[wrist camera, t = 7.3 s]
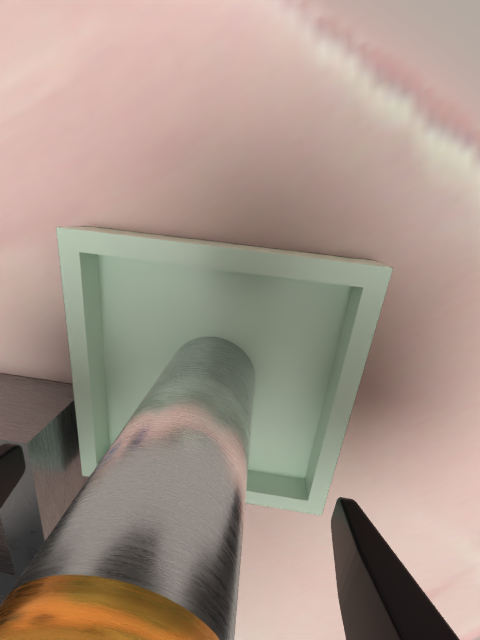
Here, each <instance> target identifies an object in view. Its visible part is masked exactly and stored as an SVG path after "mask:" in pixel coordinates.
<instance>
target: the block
mask: <svg viewBox="0 0 480 640" xmlns="http://www.w3.org/2000/svg"><path fill="white" fill-rule="evenodd" d="M5 443H11V444H17V445H20V446H21V447H22V449H23V453H24V459H25V464H26V469H25V472H24V474H23V476H22V478H21V479H20V481H19V482H18V484H17V485H16V487H15V488H14V490H13V491H12V493H11V494H10V496H9V497H8V499H7V500H6V502H5V503H4V505H3V506H2V508H1V509H0V605H1V604H2V602H3V601H4V599H5V598H6V597H7V595H8V594H9V592H10V591H11V589H12V588H13V586H14V585H15V584H16V582H17V581H18V579H19V578H20V576H21V575H22V573H23V572H24V571H25V569H26V568H27V566H28V565H29V563H30V562H31V561H32V559H33V558H34V556H35V555H36V553H37V552H38V550H39V549H40V548H41V546H42V545H43V543H44V542H45V540H46V539H47V537H48V536H49V535H50V533H51V532H52V530H53V529H54V527H55V526H56V524H57V523H58V522H59V520H60V519H61V517H62V516H63V514H64V513H65V511H66V510H67V509H68V507H69V506H70V504H71V503H72V501H73V500H74V499H75V497H76V496H77V494H78V493H79V491H80V490H81V488H82V487H83V486H84V484H85V483H86V481H87V480H88V478H89V477H88V476H82V468H81V458H80V449H79V439H78V430H77V420H76V411H75V401H74V392H73V384H67V383H60V382H54V381H47V380H40V379H34V378H27V377H20V376H14V375H7V374H0V445H2V444H5Z"/></svg>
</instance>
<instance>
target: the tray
mask: <svg viewBox="0 0 480 640" xmlns="http://www.w3.org/2000/svg"><path fill="white" fill-rule="evenodd" d="M56 230H57V240H58V249H59V259H60V268H61V278H62V287H63V297H64V306H65V316H66V325H67V335H68V344H69V354H70V363H71V373H72V382H73V392H74V401H75V411H76V420H77V430H78V439H79V449H80V458H81V468H82V476H88V477H90V475H91V474H92V473H93V471H94V470H95V468H96V467H97V465H98V464H99V462H100V461H101V460H102V458H103V457H104V455H105V454H106V452H107V451H108V449H109V448H110V447H111V445H112V444H113V442H114V441H115V439H116V438H117V437H118V435H119V434H120V432H121V431H122V429H123V428H124V426H125V425H126V424H127V422H128V421H129V419H130V418H131V416H132V415H133V413H134V412H135V411H136V409H137V408H138V406H139V405H140V403H141V402H142V400H143V399H144V398H145V396H146V395H147V393H148V392H149V390H150V389H151V387H152V386H153V385H154V383H155V382H156V380H157V379H158V377H159V376H160V375H161V373H162V372H163V370H164V369H165V367H166V366H167V364H168V363H169V362H170V360H171V359H172V357H173V356H174V354H175V353H176V351H177V350H178V349H179V348H180V347H181V346H182V345H184V344H185V343H187V342H188V341H190V340H193V339H196V338H199V337H218V338H222V339H225V340H228V341H230V342H232V343H234V344H236V345H237V346H239V347H240V348H241V349H242V350H243V351H244V352H245V353H246V354H247V355H248V357H249V358H250V360H251V362H252V364H253V367H254V370H255V391H254V403H253V415H252V428H251V440H250V452H249V464H248V477H247V489H246V501H245V503H249V504H255V505H261V506H267V507H273V508H279V509H285V510H291V511H297V512H303V513H309V514H315V515H322V512H323V508H324V505H325V502H326V498H327V495H328V491H329V488H330V484H331V481H332V477H333V474H334V470H335V467H336V464H337V460H338V457H339V453H340V450H341V446H342V443H343V439H344V436H345V432H346V429H347V425H348V422H349V419H350V415H351V412H352V408H353V405H354V401H355V398H356V394H357V391H358V387H359V384H360V381H361V377H362V374H363V370H364V367H365V363H366V360H367V356H368V353H369V349H370V346H371V343H372V339H373V336H374V332H375V329H376V325H377V322H378V318H379V315H380V311H381V308H382V305H383V301H384V298H385V294H386V291H387V287H388V284H389V280H390V277H391V273H392V270H393V268H392V267H390V266H387V265H385V264H382V263H380V262H377V261H374V260H366V259H357V258H349V257H341V256H332V255H324V254H316V253H307V252H299V251H291V250H282V249H274V248H266V247H257V246H249V245H241V244H232V243H224V242H216V241H207V240H199V239H191V238H182V237H174V236H166V235H157V234H149V233H141V232H133V231H124V230H116V229H108V228H99V227H91V226H71V227H56Z"/></svg>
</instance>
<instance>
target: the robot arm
mask: <svg viewBox="0 0 480 640" xmlns="http://www.w3.org/2000/svg"><path fill="white" fill-rule="evenodd" d="M25 469H26V464H25V459H24V453H23V449H22V447H21V446H20V445H17V444H11V443H5V444H2V445H0V509H1V508H2V506H3V505H4V503H5V502H6V500H7V499H8V497H9V496H10V494H11V493H12V491H13V490H14V488H15V487H16V485H17V484H18V482H19V481H20V479H21V478H22V476H23V474H24V472H25ZM331 531H332V541H333V551H334V561H335V570H336V580H337V589H338V598H339V604H340V610H341V615H342V620H343V625H344V630H345V636H346V640H460V639H459V638H458V637H457V635H456V634H455V633H454V631H453V630H452V629H451V627H450V626H449V625H448V623H447V622H446V621H445V620H444V618H443V617H442V616H441V614H440V613H439V612H438V610H437V609H436V608H435V606H434V605H433V604H432V602H431V601H430V600H429V598H428V597H427V596H426V594H425V593H424V592H423V590H422V589H421V588H420V586H419V585H418V584H417V582H416V581H415V580H414V578H413V577H412V576H411V574H410V573H409V572H408V570H407V569H406V568H405V566H404V565H403V564H402V562H401V561H400V560H399V558H398V557H397V556H396V554H395V553H394V552H393V550H392V549H391V548H390V546H389V545H388V544H387V542H386V541H385V540H384V538H383V537H382V536H381V534H380V533H379V532H378V530H377V529H376V528H375V526H374V525H373V524H372V522H371V521H370V520H369V518H368V517H367V516H366V514H365V513H364V512H363V510H362V509H361V508H360V506H359V505H358V504H357V503H356V501H354V500H353V499H348V498H342V497H340V498H338V500H337V502H336V505H335V508H334V512H333V515H332V519H331Z"/></svg>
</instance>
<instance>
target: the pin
mask: <svg viewBox="0 0 480 640" xmlns="http://www.w3.org/2000/svg"><path fill="white" fill-rule="evenodd" d="M254 391H255V370H254V367H253V364H252V362H251V360H250V358H249V357H248V355H247V354H246V353H245V352H244V351H243V350H242V349H241V348H240V347H239V346H237V345H236V344H234V343H232V342H230V341H228V340H225V339H222V338H218V337H199V338H196V339H193V340H190V341H188V342H187V343H185V344H184V345H182V346H181V347H180V348H179V349H178V350H177V351H176V353H175V354H174V356H173V357H172V359H171V360H170V362H169V363H168V364H167V366H166V367H165V369H164V370H163V372H162V373H161V375H160V376H159V377H158V379H157V380H156V382H155V383H154V385H153V386H152V387H151V389H150V390H149V392H148V393H147V395H146V396H145V398H144V399H143V400H142V402H141V403H140V405H139V406H138V408H137V409H136V411H135V412H134V413H133V415H132V416H131V418H130V419H129V421H128V422H127V424H126V425H125V426H124V428H123V429H122V431H121V432H120V434H119V435H118V437H117V438H116V439H115V441H114V442H113V444H112V445H111V447H110V448H109V449H108V451H107V452H106V454H105V455H104V457H103V458H102V460H101V461H100V462H99V464H98V465H97V467H96V468H95V470H94V471H93V473H92V474H91V475H90V477H89V478H88V480H87V481H86V483H85V484H84V486H83V487H82V488H81V490H80V491H79V493H78V494H77V496H76V497H75V499H74V500H73V501H72V503H71V504H70V506H69V507H68V509H67V510H66V511H65V513H64V514H63V516H62V517H61V519H60V520H59V522H58V523H57V524H56V526H55V527H54V529H53V530H52V532H51V533H50V535H49V536H48V537H47V539H46V540H45V542H44V543H43V545H42V546H41V548H40V549H39V550H38V552H37V553H36V555H35V556H34V558H33V559H32V561H31V562H30V563H29V565H28V566H27V568H26V569H25V571H24V572H23V573H22V575H21V576H20V578H19V579H18V581H17V582H16V584H15V585H14V586H13V588H12V589H11V591H10V592H9V594H8V595H7V597H6V598H5V599H4V601H3V602H2V604H1V605H0V640H234V635H235V623H236V611H237V599H238V587H239V574H240V562H241V550H242V538H243V525H244V513H245V501H246V489H247V477H248V464H249V452H250V440H251V428H252V415H253V403H254Z"/></svg>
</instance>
